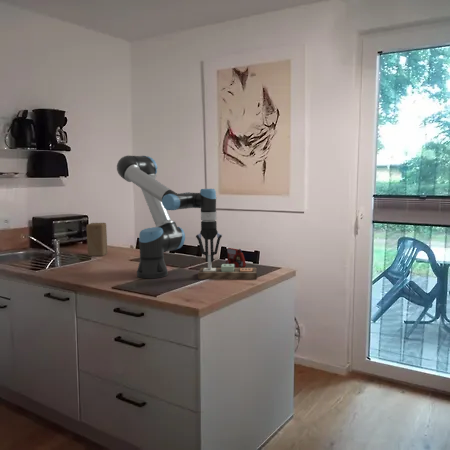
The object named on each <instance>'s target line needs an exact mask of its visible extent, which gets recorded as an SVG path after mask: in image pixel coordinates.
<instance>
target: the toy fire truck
mask: <svg viewBox="0 0 450 450" xmlns="http://www.w3.org/2000/svg"><path fill="white" fill-rule="evenodd" d="M226 252H227V260H226V261H225V263H224V264H234V268H246V266H247V264H246V263H247V262H246V259H245V255H244V253H243V252H242V249H241V248H239V249H237V248H234V247H233V248H232V247H228V248H227V249H226Z"/></svg>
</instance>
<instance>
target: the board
mask: <svg viewBox="0 0 450 450" xmlns="http://www.w3.org/2000/svg"><path fill="white" fill-rule="evenodd" d="M204 268H205V267H200V269H199V271H198V272H197V279H198V280H257V279H258V277H257V270H258V269H257V267H252V268H253V272H240V268H241V267H239V268H234V272H221V267H215V268H216V272H203V269H204Z"/></svg>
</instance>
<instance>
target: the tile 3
mask: <svg viewBox="0 0 450 450" xmlns="http://www.w3.org/2000/svg"><path fill="white" fill-rule="evenodd" d="M239 268H240V272H253V268H254V267H244V268H241V267H239Z"/></svg>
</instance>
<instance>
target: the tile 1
mask: <svg viewBox="0 0 450 450" xmlns="http://www.w3.org/2000/svg"><path fill="white" fill-rule="evenodd" d="M203 268H204V269H203V272H216V268H217V267H212V268H211V269H208V267H203Z"/></svg>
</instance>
